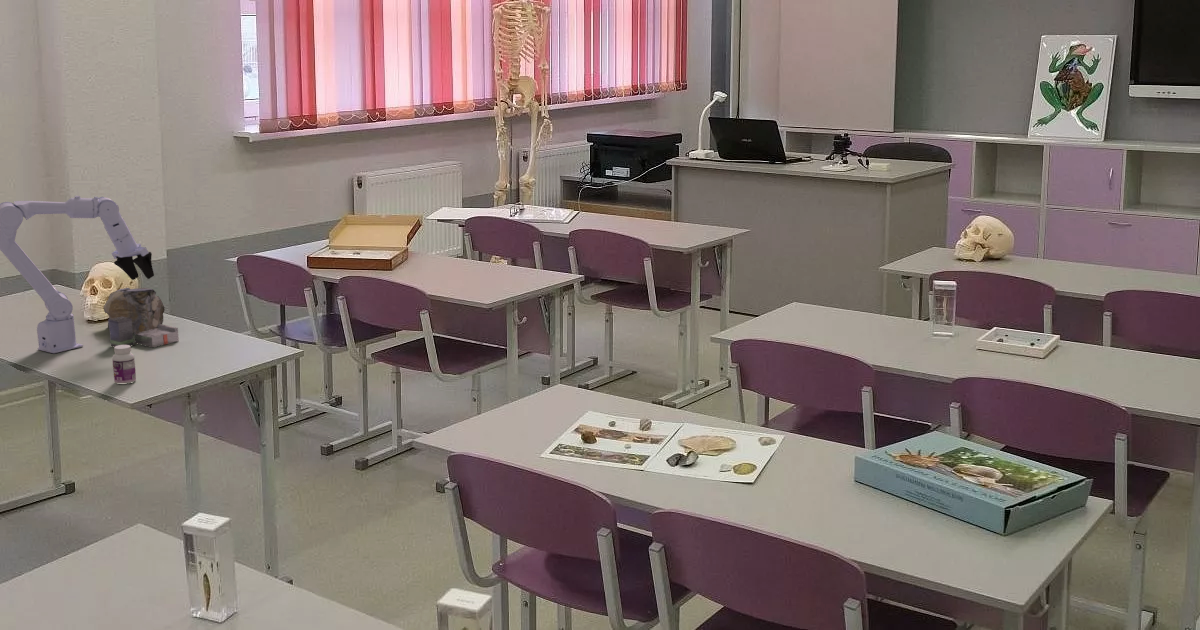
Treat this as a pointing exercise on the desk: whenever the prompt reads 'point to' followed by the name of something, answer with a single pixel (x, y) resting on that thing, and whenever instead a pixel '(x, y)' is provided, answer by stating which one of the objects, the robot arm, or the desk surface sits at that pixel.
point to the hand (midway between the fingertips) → (143, 277)
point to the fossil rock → (136, 308)
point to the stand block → (157, 336)
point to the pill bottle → (123, 364)
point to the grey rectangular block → (121, 331)
